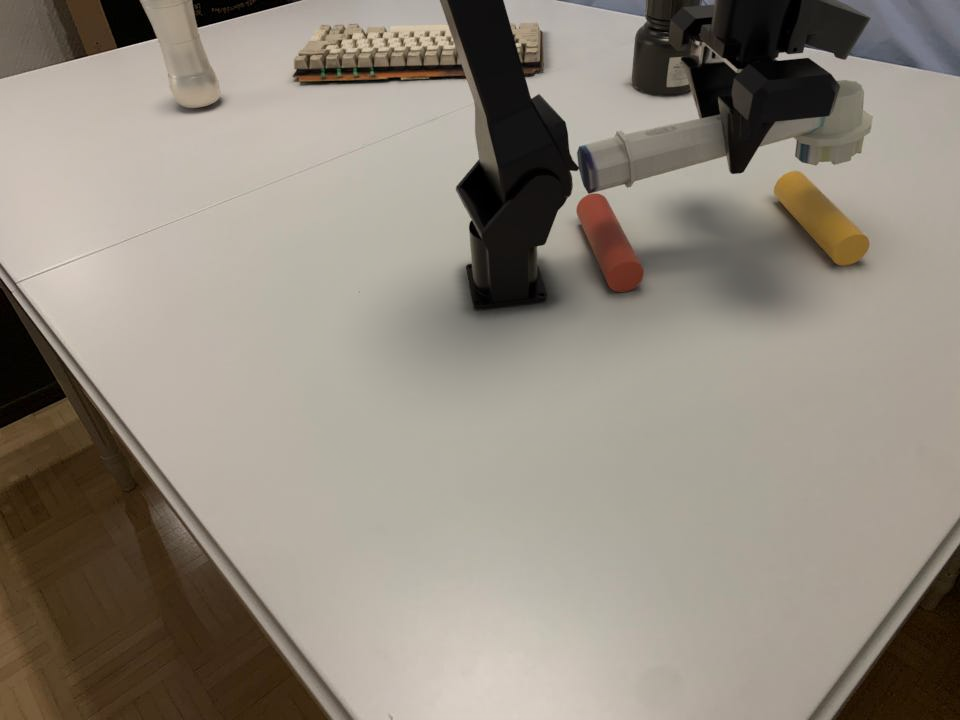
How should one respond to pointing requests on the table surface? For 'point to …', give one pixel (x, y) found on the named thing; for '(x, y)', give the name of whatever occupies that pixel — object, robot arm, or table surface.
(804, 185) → the rod yellow
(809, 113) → the robot arm
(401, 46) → the mechanical keyboard
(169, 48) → the plastic bottle
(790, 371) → the table surface
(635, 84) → the ink bottle
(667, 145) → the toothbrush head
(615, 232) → the rod red
